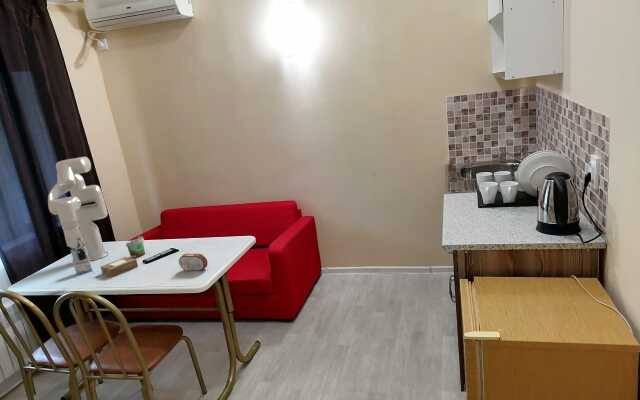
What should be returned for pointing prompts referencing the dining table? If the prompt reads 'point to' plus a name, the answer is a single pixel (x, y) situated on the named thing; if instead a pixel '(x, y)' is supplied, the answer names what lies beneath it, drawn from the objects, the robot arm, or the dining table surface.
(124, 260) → the plinth
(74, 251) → the slate block
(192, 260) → the tin
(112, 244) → the dining table surface
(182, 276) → the dining table surface
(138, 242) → the food container
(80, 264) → the medicine box
